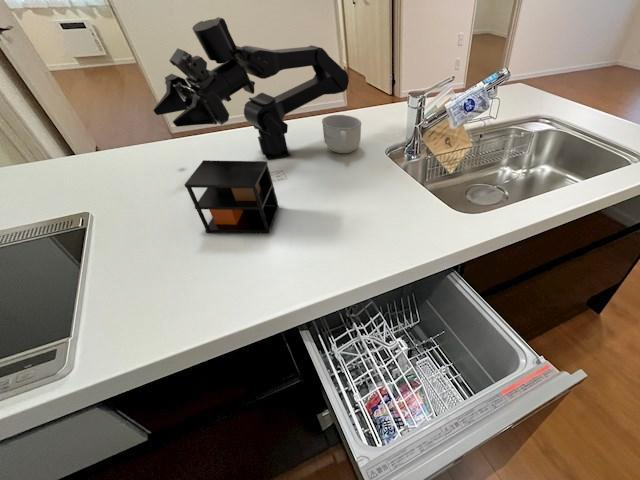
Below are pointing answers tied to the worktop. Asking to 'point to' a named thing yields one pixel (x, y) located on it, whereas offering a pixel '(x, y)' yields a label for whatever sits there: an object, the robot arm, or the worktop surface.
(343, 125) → the teacup
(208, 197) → the snack rack
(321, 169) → the worktop surface
